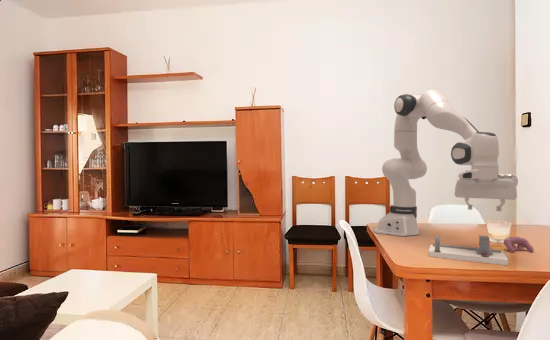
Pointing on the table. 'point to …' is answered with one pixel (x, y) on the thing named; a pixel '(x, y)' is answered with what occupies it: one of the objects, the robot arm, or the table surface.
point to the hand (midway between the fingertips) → (484, 210)
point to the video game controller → (517, 240)
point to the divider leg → (483, 246)
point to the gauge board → (465, 253)
